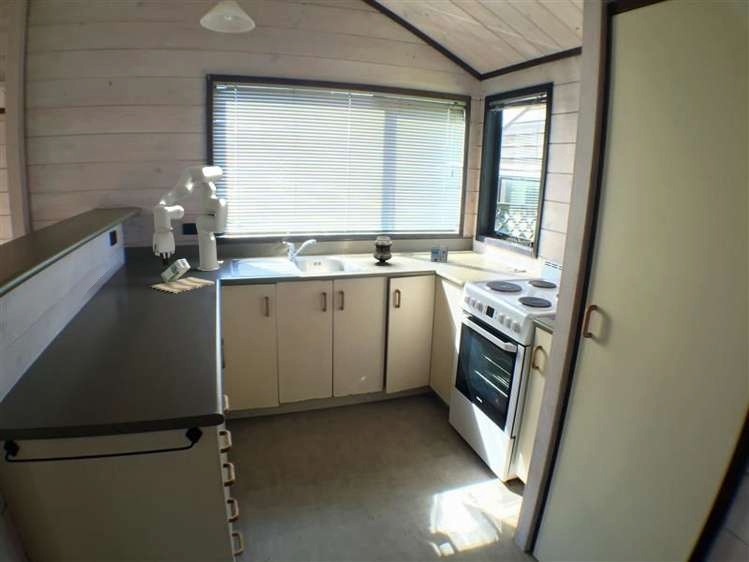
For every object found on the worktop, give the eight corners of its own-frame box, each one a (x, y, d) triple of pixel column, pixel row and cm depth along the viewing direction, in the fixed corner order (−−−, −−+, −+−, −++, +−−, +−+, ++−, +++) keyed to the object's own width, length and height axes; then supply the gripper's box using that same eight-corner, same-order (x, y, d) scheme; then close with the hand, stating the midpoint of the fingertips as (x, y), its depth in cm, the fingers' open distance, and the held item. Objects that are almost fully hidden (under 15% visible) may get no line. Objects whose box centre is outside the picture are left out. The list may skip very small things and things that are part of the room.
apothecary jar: (391, 266, 305) (392, 238, 301) (372, 266, 305) (373, 238, 301) (391, 262, 316) (392, 236, 312) (373, 262, 317) (374, 235, 312)
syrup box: (160, 274, 247) (177, 259, 241) (169, 272, 252) (185, 258, 246) (166, 283, 246) (182, 269, 240) (174, 281, 252) (191, 267, 246)
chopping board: (191, 279, 258) (191, 277, 258) (214, 283, 249) (214, 281, 249) (151, 288, 238) (151, 285, 237) (175, 293, 229) (175, 291, 229)
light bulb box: (430, 261, 324) (431, 246, 322) (432, 259, 331) (432, 244, 328) (445, 262, 321) (446, 247, 319) (447, 261, 328) (448, 245, 325)
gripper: (171, 228, 251) (173, 262, 256) (145, 231, 239) (148, 266, 243) (180, 229, 248) (182, 264, 252) (154, 232, 235) (157, 268, 239)
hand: (165, 265), depth 247 cm, fingers closed
